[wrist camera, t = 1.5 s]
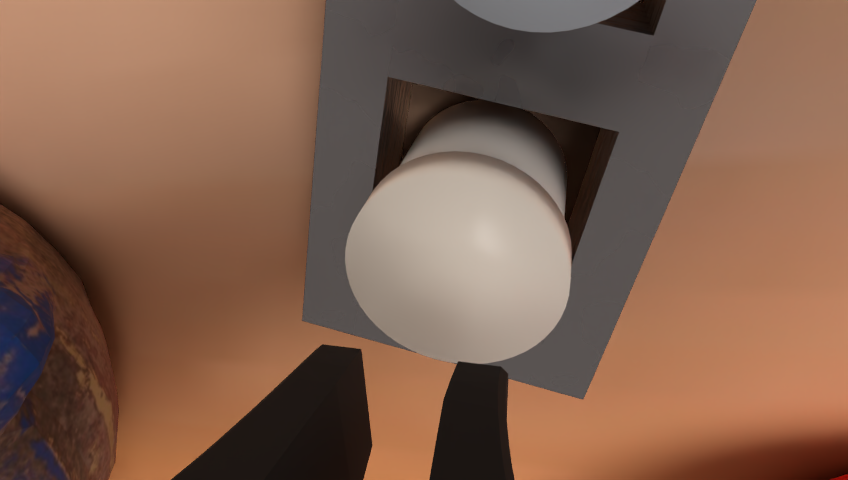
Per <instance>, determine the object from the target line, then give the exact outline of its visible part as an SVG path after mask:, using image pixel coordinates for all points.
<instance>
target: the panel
mask: <svg viewBox="0 0 848 480" xmlns="http://www.w3.org/2000/svg"><path fill="white" fill-rule="evenodd" d="M755 3H756V0H644V3H642V2H636V3H635V4H633V5H632V6H631V7H629V8H628V9H626V10H624V11H622V12H620V13H618V14H616V15H614V16H612V17H610V18H608V19H606V20H603V21H600V22H598V23H595V24H592V25H590V26H586V27H582V28H578V29H573V30H569V31H559V32H527V31H521V30H515V29H510V28H507V27H503V26H500V25H497V24H494V23H491V22H489V21H487V20H485V19H483V18H480V17H478V16H476V15H475V14H473V13H471V12H470V11H468V10H467V9H465V8H463V7H462V6H460V5H459V4H458V3H457V2H455V1H454V0H326V8H325V21H324V35H323V48H322V62H321V75H320V89H319V102H318V116H317V129H316V142H315V156H314V169H313V183H312V196H311V210H310V223H309V237H308V250H307V263H306V277H305V290H304V304H303V317H302V321H305V322H309V323H312V324H316V325H319V326H323V327H327V328H330V329H334V330H337V331H341V332H344V333H348V334H351V335H355V336H359V337H362V338H366V339H369V340H373V341H376V342H380V343H384V344H387V345H391V346H394V347H398V348H401V349H405V350H408V351H412V350H410V349H408V348H406V347H404V346H403V345H401V344H399V343H397V342H396V341H395V340H393V339H392V338H390V337H389V336H387V335H386V334H385V333H384V332H383V331H382V330H380V329H379V328H378V327H377V326H376V325H375V324H374V323H373V322H372V321H371V320H370V318H369V317H368V316H367V315H366V313H365V312H364V311H363V309H362V308H361V307H360V305H359V303H358V301H357V300H356V298H355V296H354V294H353V291H352V289H351V287H350V284H349V280H348V276H347V273H346V264H345V249H346V243H347V238H348V235H349V232H350V229H351V227H352V224H353V223H354V221H355V219H356V217H357V216H358V214H359V212H360V211H361V209H362V208H363V206H364V204H365V203H366V201H367V200H368V198H369V196H370V195H371V193H372V192H373V190H374V189H375V188H376V186H377V185H378V184H379V183H380V181H381V180H382V179H384V178H385V177H386V176H387V175H388V174H389V173H390V172H392V171H393V170H394V169H396V168H397V167H399V166H400V160H401V154H402V147H403V141H404V135H405V128H406V122H407V116H408V109H409V103H410V97H411V90H412V84H413V83H416V84H420V85H425V86H429V87H433V88H437V89H441V90H446V91H450V92H454V93H458V94H462V95H467V96H471V97H475V98H479V99H483V100H487V101H492V102H496V103H500V104H504V105H508V106H513V107H517V108H521V109H525V110H529V111H534V112H538V113H542V114H546V115H550V116H554V117H559V118H563V119H567V120H571V121H575V122H580V123H584V124H588V125H592V126H596V127H601V129H600V132H599V135H598V138H597V141H596V144H595V147H594V150H593V153H592V156H591V159H590V161H589V164H588V167H587V170H586V173H585V176H584V179H583V182H582V185H581V188H580V191H579V194H578V197H577V200H576V203H575V206H574V209H573V211H572V214H571V217H570V220H569V223H568V229H569V234H570V238H571V247H572V261H571V280H570V291H569V297H568V301H567V304H566V308H565V310H564V312H563V314H562V316H561V319H560V320H559V321H558V323H557V324H556V326H555V327H554V329H553V330H552V331H551V332H550V333H549V334H548V335H547V336H546V337H545V338H544V339H543V340H542V341H541V342H539V343H538V344H537V345H536V346H534V347H532V348H531V349H529V350H527V351H526V352H524V353H521V354H519V355H517V356H515V357H512V358H509V359H505V360H502V361H497V362H492V363H484V364H485V365H493V366H501V367H502V368H503V369H504V370H505V371H506V372H507V373H508V379H512V380H515V381H519V382H522V383H526V384H529V385H533V386H537V387H540V388H544V389H547V390H551V391H554V392H558V393H561V394H565V395H569V396H572V397H576V398H579V399H584V397H585V394H586V392H587V390H588V388H589V385H590V383H591V381H592V378H593V376H594V374H595V371H596V369H597V367H598V364H599V362H600V360H601V358H602V355H603V353H604V351H605V348H606V346H607V344H608V341H609V339H610V337H611V335H612V332H613V330H614V328H615V325H616V323H617V321H618V318H619V316H620V314H621V311H622V309H623V307H624V305H625V302H626V300H627V298H628V295H629V293H630V291H631V288H632V286H633V284H634V282H635V279H636V277H637V275H638V272H639V270H640V268H641V265H642V263H643V261H644V259H645V256H646V254H647V252H648V249H649V247H650V245H651V242H652V240H653V238H654V235H655V233H656V231H657V229H658V226H659V224H660V222H661V219H662V217H663V215H664V212H665V210H666V208H667V206H668V203H669V201H670V199H671V196H672V194H673V192H674V189H675V187H676V185H677V182H678V180H679V178H680V176H681V173H682V171H683V169H684V166H685V164H686V162H687V159H688V157H689V155H690V153H691V150H692V148H693V146H694V143H695V141H696V139H697V136H698V134H699V132H700V129H701V127H702V125H703V123H704V120H705V118H706V116H707V113H708V111H709V109H710V106H711V104H712V102H713V100H714V97H715V95H716V93H717V90H718V88H719V86H720V83H721V81H722V79H723V76H724V74H725V72H726V70H727V67H728V65H729V63H730V60H731V58H732V56H733V53H734V51H735V49H736V47H737V44H738V42H739V40H740V37H741V35H742V33H743V30H744V28H745V26H746V23H747V21H748V19H749V17H750V14H751V12H752V10H753V7H754V5H755ZM412 352H414V351H412ZM416 353H417V352H416ZM455 364H457V363H455Z"/></svg>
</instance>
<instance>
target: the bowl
mask: <svg viewBox="0 0 848 480" xmlns="http://www.w3.org/2000/svg"><path fill="white" fill-rule="evenodd" d="M118 414H119V407H118V397H117V389H116V384H115V380H114V375H113V371H112V366H111V362H110V357H109V353H108V348H107V344H106V340H105V337H104V334H103V331H102V327H101V325H100V323H99V321H98V320H97V318H96V316H95V314H94V312H93V310H92V308H91V305H90V302H89V300H88V297H87V294H86V292H85V289H84V286H83V284H82V281H81V278H80V277H79V276H78V275H77V274H76V273H75V271H74V270H73V269H72V268H71V267H70V266H69V264H68V263H67V262H66V261H65V260H64V259H63V257H62V256H61V255H60V254H59V253H58V252H57V250H56V249H55V248H54V247H53V246H52V245H50V244H49V243H48V242H47V241H46V240H45V239H44V238H43V237H42V236H41V235H40V234H39V233H38V232H37V231H36V230H35V229H34V228H32V227H31V226H30V225H29V224H28V223H27V222H26V221H25V220H24V219H22V218H21V217H19V216H18V215H16V214H15V213H13V212H12V211H10V210H8V209H7V208H5V207H4V206H2V205H1V204H0V480H108V479H109V476H110V473H111V471H112V468H113V466H114V463H115V458H116V443H117V428H118Z"/></svg>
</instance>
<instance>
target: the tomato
mask: <svg viewBox="0 0 848 480" xmlns="http://www.w3.org/2000/svg"><path fill="white" fill-rule="evenodd" d="M830 480H848V474H846V475H843V476H840V477H836V478H833V479H830Z"/></svg>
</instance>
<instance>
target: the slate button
mask: <svg viewBox="0 0 848 480" xmlns="http://www.w3.org/2000/svg"><path fill="white" fill-rule="evenodd" d="M454 1H455V2H457V3H458V4H459V5H460V6H462V7H463V8H465V9H467V10H468V11H470V12H471V13H473V14H475V15H476V16H478V17H480V18H483V19H485V20H487V21H489V22H491V23H494V24H497V25H500V26H503V27H507V28H510V29H515V30H521V31H527V32H559V31H569V30H573V29H578V28H582V27H586V26H590V25H592V24H595V23H598V22H600V21H603V20H606V19H608V18H610V17H612V16H614V15H616V14H618V13H620V12H622V11H624V10H626V9H628V8H629V7H631V6H632V5H633V4H635V3H636V2H638V1H639V0H454Z"/></svg>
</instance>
